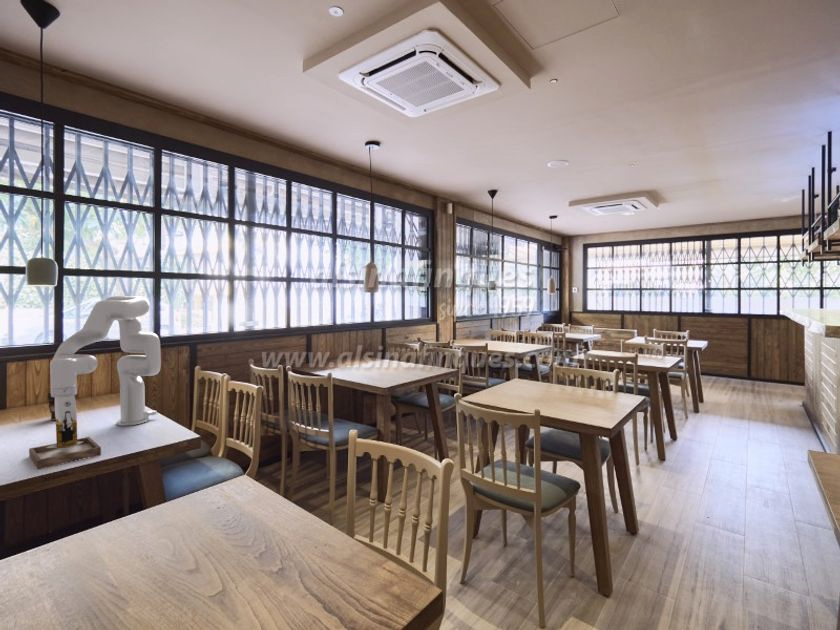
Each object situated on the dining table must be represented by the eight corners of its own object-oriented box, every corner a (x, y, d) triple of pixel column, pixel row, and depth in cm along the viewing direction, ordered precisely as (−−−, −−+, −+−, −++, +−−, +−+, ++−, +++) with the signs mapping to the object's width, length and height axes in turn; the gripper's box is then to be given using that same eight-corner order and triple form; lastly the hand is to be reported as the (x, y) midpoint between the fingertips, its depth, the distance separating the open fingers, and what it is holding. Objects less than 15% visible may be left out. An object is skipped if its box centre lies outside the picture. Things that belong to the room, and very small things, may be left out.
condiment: (67, 449, 157) (66, 417, 156) (45, 448, 158) (44, 416, 157) (84, 442, 164) (83, 411, 164) (63, 441, 165) (62, 410, 164)
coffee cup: (43, 420, 202) (42, 393, 202) (62, 415, 210) (62, 389, 209) (55, 422, 199) (54, 394, 199) (74, 417, 207) (74, 391, 206)
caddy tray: (89, 444, 173) (89, 436, 173) (101, 455, 162) (100, 447, 162) (29, 456, 159) (29, 448, 159) (37, 469, 148) (37, 460, 148)
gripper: (82, 393, 157) (83, 441, 157) (71, 385, 168) (72, 431, 169) (55, 396, 151) (57, 447, 152) (46, 388, 162) (47, 435, 163)
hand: (65, 438), depth 160 cm, fingers closed on condiment, 6 cm apart
